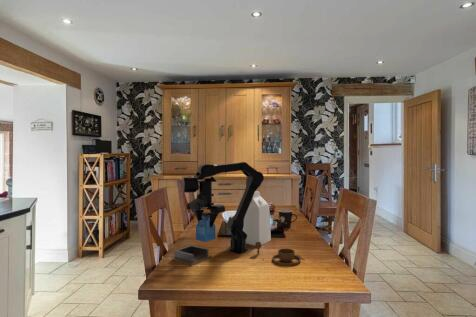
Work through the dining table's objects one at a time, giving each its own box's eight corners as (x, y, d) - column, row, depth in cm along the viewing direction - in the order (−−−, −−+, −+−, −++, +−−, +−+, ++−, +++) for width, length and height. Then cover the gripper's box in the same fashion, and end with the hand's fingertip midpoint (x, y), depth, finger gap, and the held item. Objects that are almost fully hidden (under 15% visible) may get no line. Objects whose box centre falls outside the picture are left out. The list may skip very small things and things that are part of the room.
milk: (252, 237, 170) (252, 190, 169) (270, 240, 163) (270, 191, 163) (240, 242, 160) (239, 192, 159) (259, 245, 153) (259, 193, 153)
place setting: (274, 270, 122) (274, 255, 122) (253, 255, 141) (253, 242, 141) (311, 263, 129) (311, 249, 129) (286, 250, 147) (286, 238, 147)
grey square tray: (211, 257, 136) (211, 248, 136) (191, 265, 126) (191, 256, 126) (191, 252, 143) (191, 244, 143) (171, 260, 133) (171, 250, 133)
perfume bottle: (205, 242, 135) (205, 214, 135) (195, 239, 139) (195, 213, 139) (215, 239, 140) (215, 212, 140) (205, 236, 144) (205, 211, 144)
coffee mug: (275, 226, 195) (275, 210, 195) (287, 224, 199) (287, 209, 199) (286, 230, 185) (286, 213, 184) (298, 228, 188) (298, 212, 188)
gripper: (177, 192, 139) (178, 226, 139) (208, 195, 128) (208, 232, 128) (195, 189, 148) (195, 222, 148) (225, 192, 136) (225, 227, 137)
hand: (205, 226), depth 140 cm, fingers closed on perfume bottle, 6 cm apart
